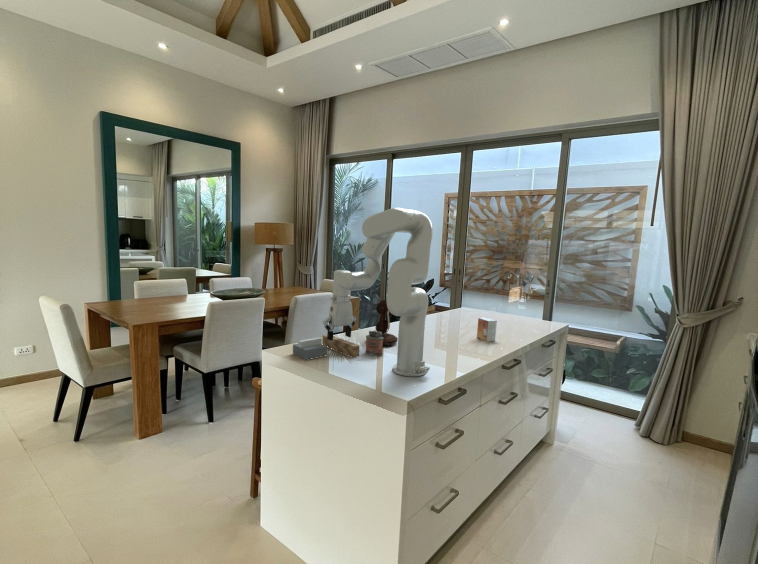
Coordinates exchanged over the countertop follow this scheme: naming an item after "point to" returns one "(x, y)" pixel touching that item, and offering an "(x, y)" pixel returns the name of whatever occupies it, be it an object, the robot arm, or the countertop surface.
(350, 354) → the batten
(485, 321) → the small box
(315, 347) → the ridge stand
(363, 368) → the countertop surface
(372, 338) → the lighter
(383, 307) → the brown rounded piece
